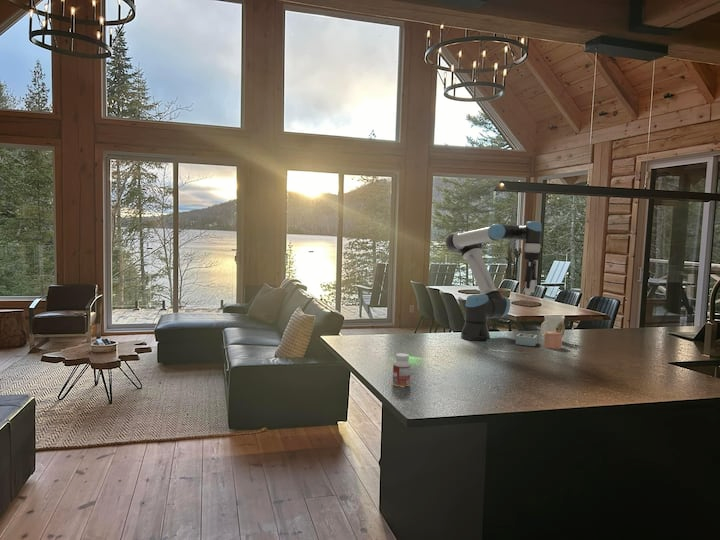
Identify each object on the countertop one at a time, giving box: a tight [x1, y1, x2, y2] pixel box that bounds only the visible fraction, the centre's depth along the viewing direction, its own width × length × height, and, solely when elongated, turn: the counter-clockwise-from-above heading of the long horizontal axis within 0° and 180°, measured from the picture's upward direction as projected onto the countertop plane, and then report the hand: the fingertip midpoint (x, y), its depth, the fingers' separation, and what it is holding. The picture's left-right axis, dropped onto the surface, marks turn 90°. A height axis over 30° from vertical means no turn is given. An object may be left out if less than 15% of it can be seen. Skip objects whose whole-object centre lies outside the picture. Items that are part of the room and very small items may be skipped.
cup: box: [543, 331, 564, 350], centre depth 263 cm, size 8×8×8 cm
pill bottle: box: [392, 352, 411, 387], centre depth 187 cm, size 6×6×11 cm
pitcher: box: [540, 314, 566, 339], centre depth 282 cm, size 11×18×14 cm, turn 122°
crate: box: [515, 332, 538, 347], centre depth 269 cm, size 9×9×5 cm
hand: (529, 293), depth 268 cm, fingers open, 13 cm apart
